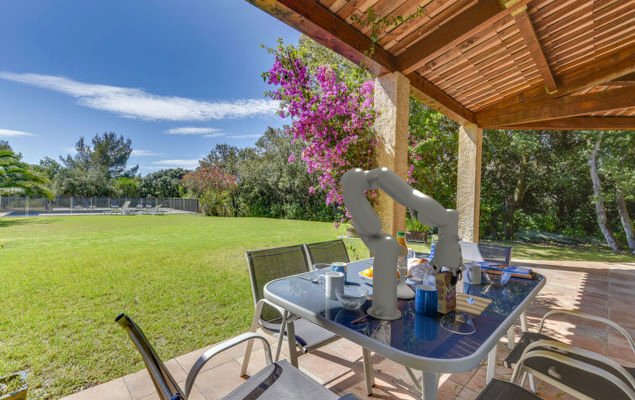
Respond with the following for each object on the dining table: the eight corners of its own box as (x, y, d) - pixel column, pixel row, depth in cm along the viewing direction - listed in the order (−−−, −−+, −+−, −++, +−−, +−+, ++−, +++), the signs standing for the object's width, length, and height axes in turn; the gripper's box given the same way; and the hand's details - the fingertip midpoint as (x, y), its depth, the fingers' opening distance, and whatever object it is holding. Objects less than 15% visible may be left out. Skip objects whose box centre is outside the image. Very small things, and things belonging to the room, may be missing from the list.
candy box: (445, 314, 107) (444, 275, 108) (435, 311, 111) (433, 273, 111) (457, 308, 113) (455, 271, 113) (447, 305, 116) (445, 269, 116)
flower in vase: (420, 298, 129) (420, 244, 130) (404, 302, 123) (405, 246, 124) (397, 291, 140) (398, 241, 141) (382, 294, 134) (382, 242, 134)
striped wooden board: (478, 316, 108) (478, 314, 108) (441, 307, 118) (441, 305, 118) (493, 301, 127) (493, 299, 127) (460, 294, 137) (460, 293, 137)
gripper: (473, 240, 110) (472, 287, 109) (430, 236, 122) (429, 278, 121) (467, 241, 104) (466, 290, 104) (423, 237, 116) (422, 281, 115)
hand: (446, 283), depth 112 cm, fingers closed on candy box, 4 cm apart
